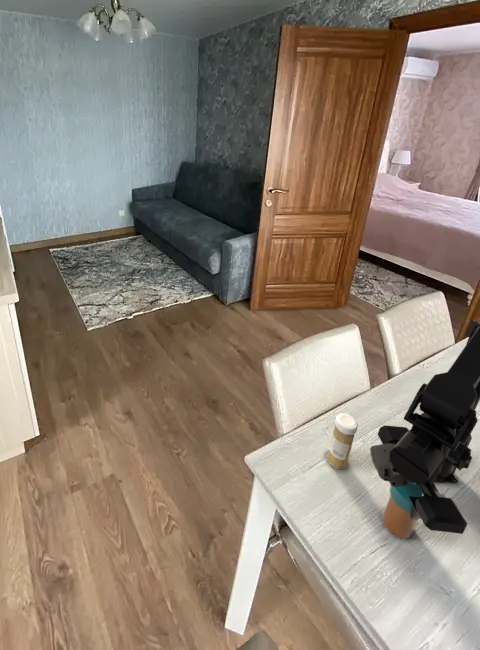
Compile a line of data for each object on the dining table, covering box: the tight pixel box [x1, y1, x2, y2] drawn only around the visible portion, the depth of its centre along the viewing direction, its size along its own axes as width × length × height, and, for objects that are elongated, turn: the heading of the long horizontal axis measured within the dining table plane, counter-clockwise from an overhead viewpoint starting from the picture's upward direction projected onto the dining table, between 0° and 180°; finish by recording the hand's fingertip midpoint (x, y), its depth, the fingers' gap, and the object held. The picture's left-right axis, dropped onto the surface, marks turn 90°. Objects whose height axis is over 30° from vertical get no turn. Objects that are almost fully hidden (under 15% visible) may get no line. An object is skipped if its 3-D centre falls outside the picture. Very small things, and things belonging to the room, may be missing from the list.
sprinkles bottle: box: [326, 412, 359, 470], centre depth 81 cm, size 5×5×13 cm
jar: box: [381, 493, 418, 540], centre depth 69 cm, size 5×5×11 cm
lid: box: [389, 481, 424, 513], centre depth 68 cm, size 6×6×3 cm
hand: (404, 501), depth 68 cm, fingers closed on lid, 6 cm apart
